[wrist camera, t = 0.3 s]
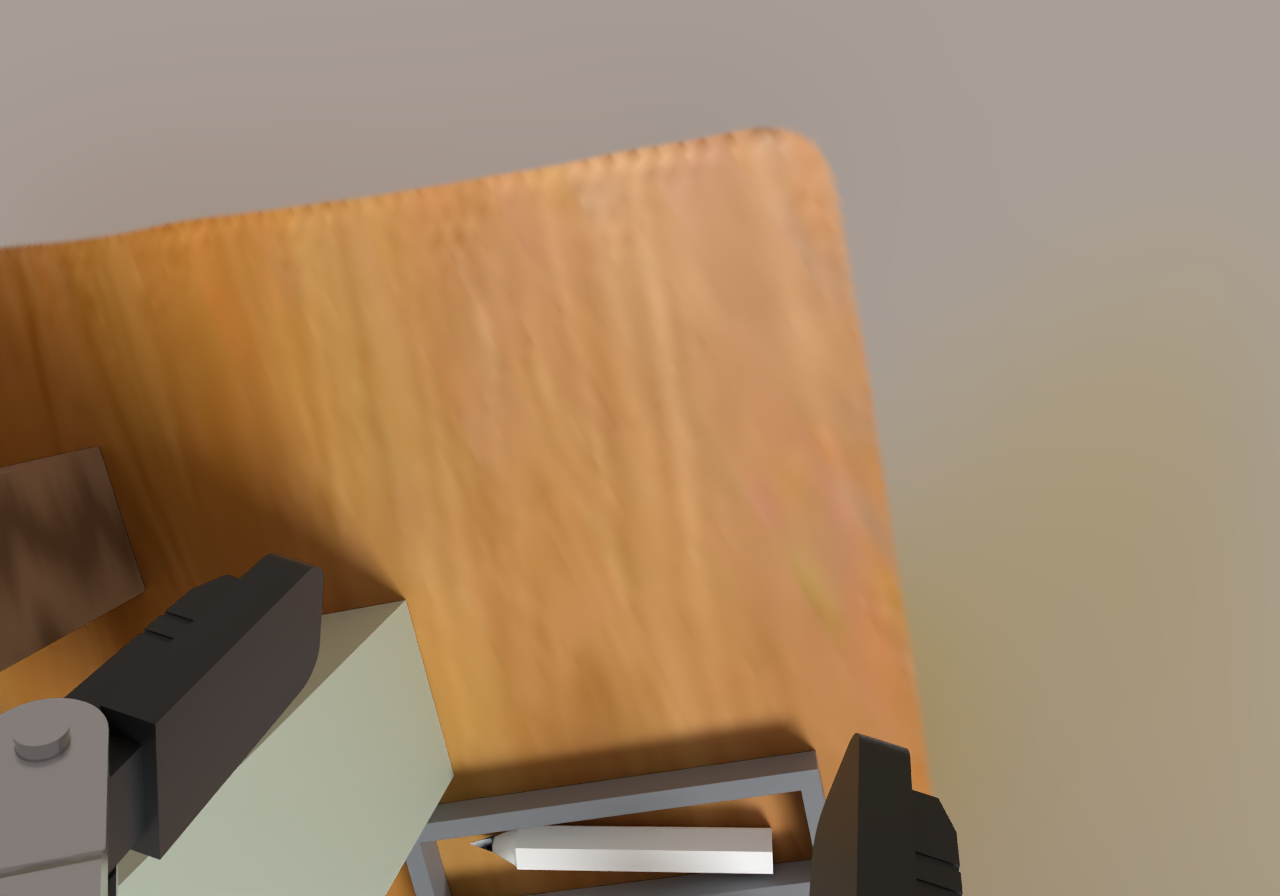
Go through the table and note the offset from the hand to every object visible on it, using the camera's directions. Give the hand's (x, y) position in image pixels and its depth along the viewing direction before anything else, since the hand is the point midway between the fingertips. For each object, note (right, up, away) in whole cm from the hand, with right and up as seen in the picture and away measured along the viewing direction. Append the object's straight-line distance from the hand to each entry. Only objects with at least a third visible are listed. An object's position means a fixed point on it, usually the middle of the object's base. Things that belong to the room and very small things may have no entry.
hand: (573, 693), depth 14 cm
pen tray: (0, -17, +37) cm, 41 cm away
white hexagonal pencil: (0, -17, +37) cm, 41 cm away
